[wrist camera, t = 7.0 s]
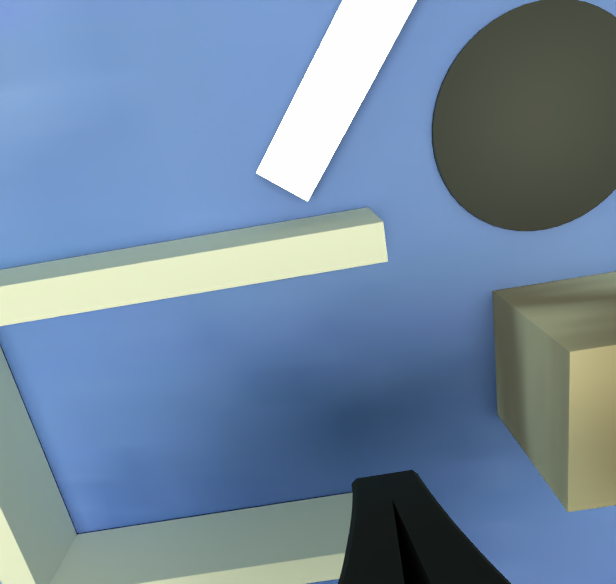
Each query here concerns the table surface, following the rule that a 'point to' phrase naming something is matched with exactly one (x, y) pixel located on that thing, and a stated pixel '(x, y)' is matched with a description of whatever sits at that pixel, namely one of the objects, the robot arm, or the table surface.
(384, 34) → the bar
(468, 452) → the table surface
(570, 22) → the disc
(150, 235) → the table surface
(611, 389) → the block
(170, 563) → the u-shaped bracket
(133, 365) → the table surface
